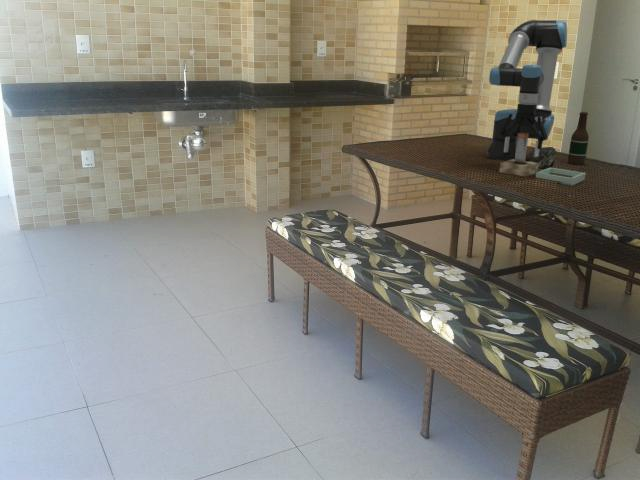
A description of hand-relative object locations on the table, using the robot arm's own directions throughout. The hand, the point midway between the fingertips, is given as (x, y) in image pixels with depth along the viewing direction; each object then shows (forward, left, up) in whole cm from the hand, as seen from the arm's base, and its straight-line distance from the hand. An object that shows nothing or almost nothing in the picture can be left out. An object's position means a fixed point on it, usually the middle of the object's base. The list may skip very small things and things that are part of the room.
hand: (520, 154), depth 260 cm
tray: (+17, +3, -9) cm, 19 cm away
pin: (0, 0, -8) cm, 8 cm away
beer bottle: (+9, +44, -9) cm, 46 cm away
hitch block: (0, 0, -9) cm, 9 cm away
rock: (+2, +19, -9) cm, 21 cm away
